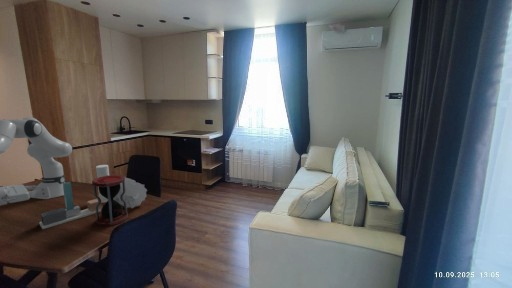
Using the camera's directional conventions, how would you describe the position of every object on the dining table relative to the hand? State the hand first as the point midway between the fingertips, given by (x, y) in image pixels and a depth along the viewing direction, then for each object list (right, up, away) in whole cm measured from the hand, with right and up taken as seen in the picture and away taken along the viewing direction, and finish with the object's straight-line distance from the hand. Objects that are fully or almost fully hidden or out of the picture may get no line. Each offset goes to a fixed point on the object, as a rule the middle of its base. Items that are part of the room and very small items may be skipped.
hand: (38, 188), depth 127 cm
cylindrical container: (+12, -16, +38) cm, 43 cm away
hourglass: (+32, -21, +13) cm, 40 cm away
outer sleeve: (+3, -20, +7) cm, 21 cm away
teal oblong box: (+5, -18, +10) cm, 21 cm away
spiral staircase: (+30, -17, +33) cm, 48 cm away
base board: (+8, -20, +14) cm, 26 cm away
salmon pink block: (+15, -17, +23) cm, 32 cm away
